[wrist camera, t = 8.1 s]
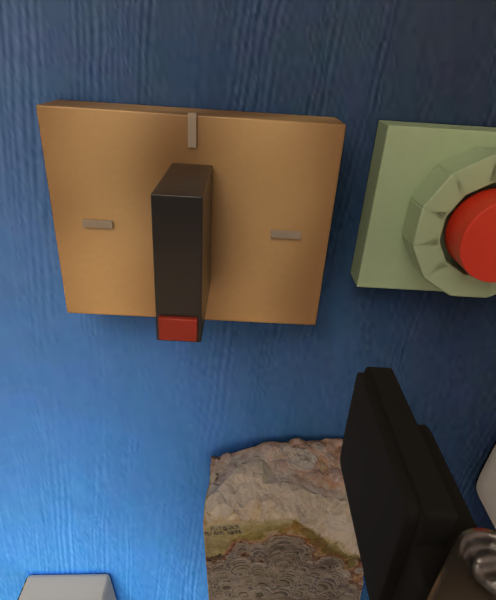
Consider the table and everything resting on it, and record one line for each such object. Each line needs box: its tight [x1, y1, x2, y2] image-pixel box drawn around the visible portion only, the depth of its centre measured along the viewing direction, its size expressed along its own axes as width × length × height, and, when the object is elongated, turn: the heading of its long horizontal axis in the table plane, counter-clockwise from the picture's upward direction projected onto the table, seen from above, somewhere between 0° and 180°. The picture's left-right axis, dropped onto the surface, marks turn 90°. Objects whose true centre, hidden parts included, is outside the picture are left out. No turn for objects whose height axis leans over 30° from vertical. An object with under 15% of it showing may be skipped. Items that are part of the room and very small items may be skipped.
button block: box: [351, 120, 496, 298], centre depth 22 cm, size 10×8×4 cm
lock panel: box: [36, 100, 346, 325], centre depth 22 cm, size 13×10×3 cm
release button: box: [445, 188, 496, 283], centre depth 20 cm, size 4×4×2 cm
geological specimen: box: [203, 438, 364, 600], centre depth 32 cm, size 11×6×15 cm
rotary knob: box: [151, 163, 213, 342], centre depth 19 cm, size 6×2×5 cm, turn 177°
